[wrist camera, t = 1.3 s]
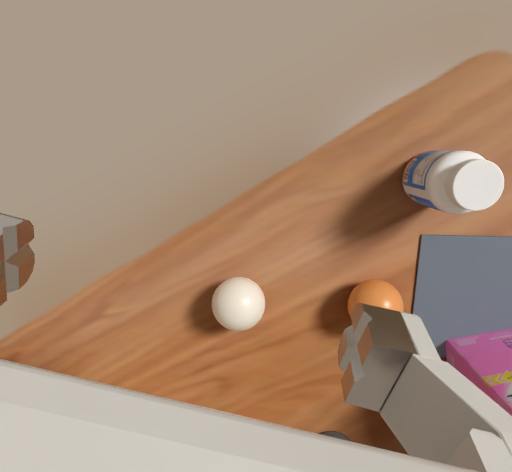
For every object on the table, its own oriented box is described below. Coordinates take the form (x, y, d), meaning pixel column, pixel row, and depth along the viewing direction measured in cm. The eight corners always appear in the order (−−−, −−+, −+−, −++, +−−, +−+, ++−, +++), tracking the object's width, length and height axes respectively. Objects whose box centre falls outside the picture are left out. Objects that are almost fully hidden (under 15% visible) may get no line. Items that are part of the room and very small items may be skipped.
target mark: (532, 358, 44) (533, 359, 44) (407, 355, 44) (408, 356, 44) (555, 237, 41) (557, 237, 41) (421, 234, 41) (421, 235, 41)
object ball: (391, 320, 43) (409, 344, 38) (341, 319, 43) (352, 343, 38) (395, 272, 42) (415, 291, 37) (344, 271, 42) (356, 290, 37)
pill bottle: (462, 189, 40) (524, 203, 31) (412, 212, 41) (458, 233, 31) (443, 140, 39) (501, 138, 30) (392, 164, 40) (433, 170, 30)
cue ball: (264, 317, 44) (264, 341, 38) (215, 316, 44) (208, 340, 38) (265, 270, 42) (266, 288, 37) (214, 269, 42) (207, 287, 37)
